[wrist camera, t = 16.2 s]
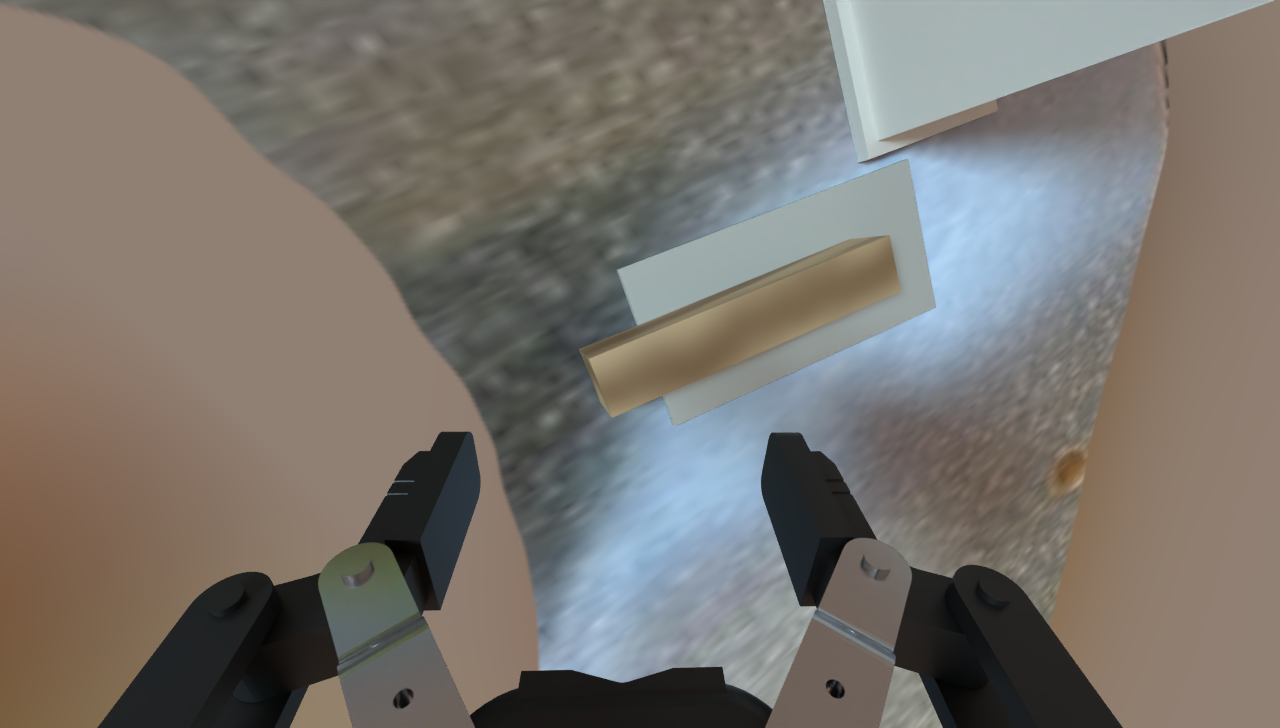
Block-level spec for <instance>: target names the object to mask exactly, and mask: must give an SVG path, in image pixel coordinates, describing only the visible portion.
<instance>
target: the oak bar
mask: <svg viewBox="0 0 1280 728" xmlns="http://www.w3.org/2000/svg"><path fill="white" fill-rule="evenodd" d="M900 291H901V289H900V284H899V279H898V274H897V270H896V265H895V260H894V255H893V250H892V245H891V240H890V235H886V236H876V237H866V238H856V239H849V240H846V241H844V242H842V243H839V244H837V245H834V246H832V247H829V248H827V249H824V250H822V251H819V252H817V253H814V254H812V255H810V256H807V257H805V258H802V259H800V260H797V261H795V262H792V263H790V264H787V265H785V266H782V267H780V268H778V269H775V270H773V271H770V272H768V273H765V274H763V275H760V276H758V277H755V278H753V279H750V280H748V281H746V282H743V283H741V284H738V285H736V286H733V287H731V288H728V289H726V290H723V291H721V292H718V293H716V294H714V295H711V296H709V297H706V298H704V299H701V300H699V301H696V302H694V303H691V304H689V305H686V306H684V307H682V308H679V309H677V310H674V311H672V312H669V313H667V314H664V315H662V316H659V317H657V318H655V319H652V320H650V321H647V322H645V323H642V324H640V325H637V326H635V327H632V328H630V329H627V330H625V331H623V332H620V333H618V334H615V335H613V336H610V337H608V338H605V339H603V340H600V341H598V342H595V343H593V344H591V345H588V346H586V347H583V348H581V349H579V350H580V352H581V355H582V357H583V360H584V362H585V365H586V368H587V370H588V373H589V375H590V378H591V380H592V383H593V385H594V388H595V390H596V393H597V395H598V398H599V400H600V402H601V404H602V405H603V406H604V408H605V409H606V410H607V412H608V413H609V414H610V416H611V417H612V418H613V417H615V416H617V415H620V414H622V413H624V412H627V411H629V410H631V409H633V408H636V407H638V406H640V405H643V404H645V403H647V402H649V401H652V400H654V399H656V398H658V397H661V396H663V395H665V394H668V393H670V392H672V391H674V390H677V389H679V388H681V387H683V386H686V385H688V384H690V383H693V382H695V381H697V380H699V379H702V378H704V377H706V376H709V375H711V374H713V373H715V372H718V371H720V370H722V369H724V368H727V367H729V366H731V365H734V364H736V363H738V362H740V361H743V360H745V359H747V358H750V357H752V356H754V355H756V354H759V353H761V352H763V351H765V350H768V349H770V348H772V347H775V346H777V345H779V344H781V343H784V342H786V341H788V340H791V339H793V338H795V337H797V336H800V335H802V334H804V333H806V332H809V331H811V330H813V329H816V328H818V327H820V326H822V325H825V324H827V323H829V322H832V321H834V320H836V319H838V318H841V317H843V316H845V315H847V314H850V313H852V312H854V311H857V310H859V309H861V308H863V307H866V306H868V305H870V304H873V303H875V302H877V301H879V300H882V299H884V298H886V297H888V296H891V295H893V294H895V293H898V292H900Z"/></svg>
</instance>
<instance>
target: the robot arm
mask: <svg viewBox="0 0 1280 728" xmlns="http://www.w3.org/2000/svg"><path fill="white" fill-rule="evenodd" d="M761 489H762V495H763V499H764V502H765V505H766V508H767V511H768V514H769V517H770V520H771V523H772V525H773V528H774V531H775V534H776V537H777V540H778V543H779V546H780V549H781V552H782V555H783V558H784V561H785V564H786V566H787V569H788V572H789V575H790V578H791V581H792V584H793V587H794V590H795V593H796V596H797V599H798V602H799V605H800V606H816V608H817V610H816V611H815V613H814V615H813V617H812V619H811V622H810V624H809V626H808V629H807V631H806V633H805V636H804V638H803V640H802V643H801V645H800V647H799V650H798V652H797V654H796V657H795V659H794V661H793V664H792V666H791V668H790V671H789V673H788V675H787V678H786V680H785V682H784V685H783V687H782V689H781V692H780V694H779V696H778V699H777V701H776V703H775V706H774V708H773V709H772V708H770V707H769V706H768V705H767V704H765V703H764V702H763V701H761V700H760V699H758V698H757V697H755V696H753V695H752V694H750V693H748V692H746V691H744V690H742V689H739V688H737V687H734V686H732V685H728V684H725V680H724V674H723V668H722V667H697V668H672V669H669V670H665V671H662V672H659V673H656V674H652V675H649V676H646V677H643V678H639V679H636V680H633V681H629V682H625V683H620V682H615V681H611V680H607V679H604V678H600V677H596V676H592V675H588V674H585V673H581V672H577V671H573V670H549V671H522V672H521V676H520V682H519V688H517V689H514V690H511V691H508V692H507V693H504V694H502V695H499V696H497V697H496V698H494V699H492V700H491V701H489V702H487V703H486V704H484V705H483V706H481V707H480V708H479V709H477V710H476V711H475V712H473V713H472V714H471V715H470V716H469V714H468V711H467V709H466V707H465V705H464V703H463V701H462V698H461V696H460V694H459V692H458V689H457V687H456V685H455V683H454V681H453V679H452V677H451V674H450V672H449V670H448V668H447V665H446V663H445V661H444V659H443V657H442V654H441V652H440V650H439V648H438V646H437V644H436V641H435V639H434V637H433V635H432V633H431V630H430V628H429V626H428V624H427V622H426V620H425V618H424V617H423V616H422V614H423V611H424V610H440V609H441V606H442V603H443V600H444V598H445V594H446V592H447V589H448V586H449V583H450V580H451V577H452V574H453V571H454V568H455V565H456V562H457V559H458V557H459V554H460V551H461V548H462V545H463V542H464V539H465V536H466V533H467V530H468V527H469V524H470V521H471V519H472V516H473V513H474V510H475V507H476V504H477V501H478V498H479V493H480V472H479V467H478V461H477V455H476V450H475V444H474V439H473V435H472V433H471V432H441V433H440V434H439V435H438V437H437V439H436V441H435V442H434V444H433V447H432V448H431V450H430V451H419V452H418V453H416V454H415V455H414V456H413V457H412V458H411V459H409V460H408V461H407V462H406V463H405V464H404V465H403V466H402V468H401V470H400V471H399V474H398V475H397V477H396V478H395V482H394V483H393V484H392V486H391V487H390V489H389V491H388V493H387V496H385V498H384V500H383V501H382V503H381V505H380V507H379V508H378V510H377V512H376V514H375V516H374V517H373V519H372V521H371V522H370V525H369V526H368V528H367V529H366V531H365V533H364V535H363V537H362V538H361V540H360V542H359V543H358V545H355V546H352V547H350V548H348V549H346V550H344V551H342V552H341V553H339V554H338V555H336V556H335V557H334V558H333V559H332V560H330V561H329V562H328V563H327V565H326V566H325V567H324V569H323V570H322V572H321V573H319V574H316V575H313V576H309V577H306V578H302V579H298V580H294V581H291V582H287V583H283V584H279V585H276V586H274V585H273V583H272V581H271V580H270V578H269V577H268V576H267V575H265V574H263V573H259V572H245V573H241V574H236V575H233V576H231V577H228V578H226V579H224V580H221V581H220V582H218V583H216V584H214V585H213V586H211V587H210V588H208V589H207V590H206V591H204V592H203V593H202V594H200V595H199V596H198V597H197V598H196V599H195V600H194V601H193V602H192V604H191V605H190V606H189V607H188V609H187V610H186V611H185V613H184V614H183V615H182V617H181V618H180V619H179V621H178V622H177V623H176V625H175V626H174V627H173V629H172V630H171V631H170V633H169V634H168V635H167V637H166V638H165V639H164V640H163V642H162V643H161V645H160V646H159V647H158V648H157V650H156V651H155V652H154V654H153V655H152V656H151V658H150V659H149V660H148V662H147V663H146V664H145V666H144V667H143V668H142V670H141V671H140V672H139V674H138V675H137V676H136V678H135V679H134V680H133V681H132V683H131V684H130V685H129V687H128V688H127V690H126V691H125V692H124V693H123V695H122V696H121V698H120V699H119V700H118V701H117V703H116V704H115V705H114V707H113V708H112V709H111V711H110V712H109V713H108V715H107V716H106V717H105V719H104V720H103V721H102V723H101V724H100V725H99V726H98V728H290V725H291V723H292V721H293V719H294V717H295V715H296V712H297V710H298V708H299V706H300V704H301V701H302V699H303V697H304V695H305V693H306V691H307V688H308V686H309V685H311V684H314V683H317V682H320V681H323V680H326V679H329V678H332V677H335V676H338V675H339V679H340V683H341V686H342V690H343V694H344V698H345V701H346V705H347V709H348V712H349V716H350V720H351V723H352V727H353V728H879V725H880V721H881V717H882V713H883V709H884V705H885V701H886V697H887V693H888V689H889V685H890V681H891V677H892V673H893V669H894V666H897V667H900V668H904V669H907V670H910V671H913V672H917V673H919V675H920V677H921V679H922V682H923V684H924V686H925V688H926V691H927V693H928V695H929V697H930V700H931V702H932V704H933V706H934V709H935V711H936V713H937V715H938V718H939V720H940V722H941V724H942V727H943V728H1123V727H1122V726H1121V725H1120V723H1119V722H1118V721H1117V719H1116V718H1115V716H1114V715H1113V714H1112V712H1111V711H1110V709H1109V708H1108V707H1107V705H1106V704H1105V703H1104V701H1103V700H1102V699H1101V697H1100V696H1099V694H1098V693H1097V692H1096V690H1095V689H1094V688H1093V686H1092V685H1091V683H1090V682H1089V681H1088V679H1087V678H1086V676H1085V675H1084V674H1083V672H1082V671H1081V670H1080V668H1079V667H1078V665H1077V664H1076V663H1075V661H1074V660H1073V658H1072V657H1071V656H1070V655H1069V653H1068V652H1067V650H1066V649H1065V647H1064V646H1063V645H1062V643H1061V642H1060V641H1059V639H1058V638H1057V636H1056V635H1055V634H1054V632H1053V631H1052V629H1051V628H1050V627H1049V625H1048V624H1047V623H1046V621H1045V620H1044V618H1043V617H1042V616H1041V614H1040V613H1039V611H1038V610H1037V609H1036V607H1035V606H1034V605H1033V603H1032V602H1031V600H1030V599H1029V598H1028V596H1027V595H1026V594H1025V593H1024V591H1023V590H1022V589H1021V588H1020V587H1019V586H1018V585H1017V584H1016V583H1014V582H1013V581H1012V580H1010V579H1009V578H1007V577H1006V576H1004V575H1003V574H1001V573H999V572H997V571H995V570H992V569H990V568H987V567H983V566H978V565H967V566H963V567H961V568H959V569H958V570H957V571H956V573H955V574H954V576H953V578H949V577H945V576H942V575H938V574H934V573H930V572H926V571H922V570H919V569H916V568H913V567H910V566H909V565H908V563H907V561H906V560H905V559H904V557H903V556H902V555H901V554H900V553H899V552H898V551H896V550H895V549H894V548H892V547H891V546H889V545H887V544H885V543H883V542H881V541H878V540H877V538H876V537H875V535H874V533H873V531H872V529H871V528H870V526H869V524H868V522H867V521H866V519H865V517H864V515H863V513H862V512H861V510H860V508H859V506H858V504H857V503H856V501H855V499H854V497H853V495H851V494H850V490H849V488H848V487H847V485H846V483H845V482H843V478H842V476H841V474H840V472H839V470H838V469H837V467H836V465H835V464H834V463H833V462H832V461H831V460H829V459H828V458H827V457H826V456H825V455H824V454H823V453H821V452H820V451H810V450H809V448H808V446H807V444H806V442H805V440H804V438H803V436H802V435H801V434H800V433H771V434H770V436H769V440H768V445H767V450H766V455H765V460H764V465H763V470H762V476H761Z"/></svg>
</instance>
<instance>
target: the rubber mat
mask: <svg viewBox="0 0 1280 728" xmlns="http://www.w3.org/2000/svg"><path fill="white" fill-rule="evenodd" d="M886 235H890V240H891V245H892V250H893V255H894V260H895V265H896V270H897V274H898V279H899V284H900V289H901V291H900V292H898V293H895V294H893V295H891V296H888V297H886V298H884V299H882V300H879V301H877V302H875V303H873V304H870V305H868V306H866V307H863V308H861V309H859V310H857V311H854V312H852V313H850V314H847V315H845V316H843V317H841V318H838V319H836V320H834V321H832V322H829V323H827V324H825V325H822V326H820V327H818V328H816V329H813V330H811V331H809V332H806V333H804V334H802V335H800V336H797V337H795V338H793V339H791V340H788V341H786V342H784V343H781V344H779V345H777V346H775V347H772V348H770V349H768V350H765V351H763V352H761V353H759V354H756V355H754V356H752V357H750V358H747V359H745V360H743V361H740V362H738V363H736V364H734V365H731V366H729V367H727V368H724V369H722V370H720V371H718V372H715V373H713V374H711V375H709V376H706V377H704V378H702V379H699V380H697V381H695V382H693V383H690V384H688V385H686V386H683V387H681V388H679V389H677V390H674V391H672V392H670V393H668V394H665V395H663V396H662V397H663V400H664V402H665V405H666V408H667V411H668V413H669V416H670V419H671V422H672V424H673V426H677V425H679V424H681V423H683V422H685V421H688V420H690V419H692V418H694V417H696V416H699V415H701V414H703V413H705V412H707V411H710V410H712V409H714V408H716V407H718V406H721V405H723V404H725V403H727V402H729V401H732V400H734V399H736V398H738V397H740V396H742V395H745V394H747V393H749V392H751V391H753V390H756V389H758V388H760V387H762V386H764V385H767V384H769V383H771V382H773V381H775V380H778V379H780V378H782V377H784V376H786V375H789V374H791V373H793V372H795V371H797V370H800V369H802V368H804V367H806V366H808V365H811V364H813V363H815V362H817V361H819V360H822V359H824V358H826V357H828V356H830V355H833V354H835V353H837V352H839V351H841V350H844V349H846V348H848V347H850V346H852V345H855V344H857V343H859V342H861V341H863V340H866V339H868V338H870V337H872V336H874V335H876V334H879V333H881V332H883V331H885V330H887V329H890V328H892V327H894V326H896V325H898V324H901V323H903V322H905V321H907V320H909V319H912V318H914V317H916V316H918V315H920V314H923V313H925V312H927V311H929V310H931V309H934V308H936V305H935V299H934V294H933V289H932V284H931V278H930V273H929V268H928V262H927V257H926V252H925V246H924V241H923V236H922V230H921V225H920V220H919V214H918V209H917V204H916V199H915V193H914V188H913V183H912V177H911V172H910V167H909V161H908V159H906V160H903V161H900V162H897V163H895V164H892V165H889V166H887V167H884V168H882V169H879V170H876V171H874V172H871V173H869V174H866V175H863V176H861V177H858V178H855V179H853V180H850V181H848V182H845V183H842V184H840V185H837V186H835V187H832V188H829V189H827V190H824V191H821V192H819V193H816V194H814V195H811V196H808V197H806V198H803V199H801V200H798V201H795V202H793V203H790V204H787V205H785V206H782V207H780V208H777V209H774V210H772V211H769V212H767V213H764V214H761V215H759V216H756V217H753V218H751V219H748V220H746V221H743V222H740V223H738V224H735V225H733V226H730V227H727V228H725V229H722V230H719V231H717V232H714V233H712V234H709V235H706V236H704V237H701V238H699V239H696V240H693V241H691V242H688V243H685V244H683V245H680V246H678V247H675V248H672V249H670V250H667V251H665V252H662V253H659V254H657V255H654V256H651V257H649V258H646V259H644V260H641V261H638V262H636V263H633V264H631V265H628V266H625V267H623V268H620V269H617V272H618V275H619V278H620V280H621V283H622V286H623V289H624V292H625V294H626V297H627V300H628V303H629V305H630V308H631V311H632V314H633V316H634V319H635V322H636V325H640V324H642V323H645V322H647V321H650V320H652V319H655V318H657V317H659V316H662V315H664V314H667V313H669V312H672V311H674V310H677V309H679V308H682V307H684V306H686V305H689V304H691V303H694V302H696V301H699V300H701V299H704V298H706V297H709V296H711V295H714V294H716V293H718V292H721V291H723V290H726V289H728V288H731V287H733V286H736V285H738V284H741V283H743V282H746V281H748V280H750V279H753V278H755V277H758V276H760V275H763V274H765V273H768V272H770V271H773V270H775V269H778V268H780V267H782V266H785V265H787V264H790V263H792V262H795V261H797V260H800V259H802V258H805V257H807V256H810V255H812V254H814V253H817V252H819V251H822V250H824V249H827V248H829V247H832V246H834V245H837V244H839V243H842V242H844V241H846V240H849V239H856V238H866V237H876V236H886Z"/></svg>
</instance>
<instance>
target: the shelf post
mask: <svg viewBox="0 0 1280 728" xmlns="http://www.w3.org/2000/svg"><path fill="white" fill-rule="evenodd" d="M1272 1H1275V0H823V3H824V8H825V13H826V17H827V22H828V27H829V31H830V36H831V41H832V45H833V50H834V54H835V59H836V64H837V68H838V73H839V78H840V82H841V87H842V92H843V96H844V101H845V106H846V110H847V115H848V120H849V124H850V129H851V134H852V138H853V143H854V148H855V152H856V157H857V162H858V163H859V162H863V161H866V160H869V159H872V158H874V157H877V156H880V155H882V154H885V153H888V152H890V151H893V150H896V149H898V148H901V147H904V146H906V145H909V144H912V143H914V142H917V141H919V140H922V139H925V138H927V137H930V136H933V135H935V134H938V133H941V132H943V131H946V130H949V129H951V128H954V127H957V126H959V125H962V124H965V123H967V122H970V121H973V120H975V119H978V118H981V117H983V116H986V115H989V114H991V113H994V112H997V111H998V105H997V99H998V98H1001V97H1003V96H1006V95H1009V94H1012V93H1015V92H1018V91H1020V90H1023V89H1026V88H1029V87H1032V86H1034V85H1037V84H1040V83H1043V82H1046V81H1049V80H1051V79H1054V78H1057V77H1060V76H1063V75H1066V74H1068V73H1071V72H1074V71H1077V70H1080V69H1082V68H1085V67H1088V66H1091V65H1094V64H1097V63H1099V62H1102V61H1105V60H1108V59H1111V58H1114V57H1116V56H1119V55H1122V54H1125V53H1128V52H1131V51H1133V50H1136V49H1139V48H1142V47H1145V46H1147V45H1150V44H1153V43H1156V42H1159V41H1162V40H1164V39H1167V38H1170V37H1173V36H1176V35H1179V34H1181V33H1184V32H1187V31H1190V30H1193V29H1195V28H1198V27H1201V26H1204V25H1207V24H1210V23H1212V22H1215V21H1218V20H1221V19H1224V18H1227V17H1229V16H1232V15H1235V14H1238V13H1241V12H1243V11H1246V10H1249V9H1252V8H1255V7H1257V6H1260V5H1263V4H1266V3H1269V2H1272Z"/></svg>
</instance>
